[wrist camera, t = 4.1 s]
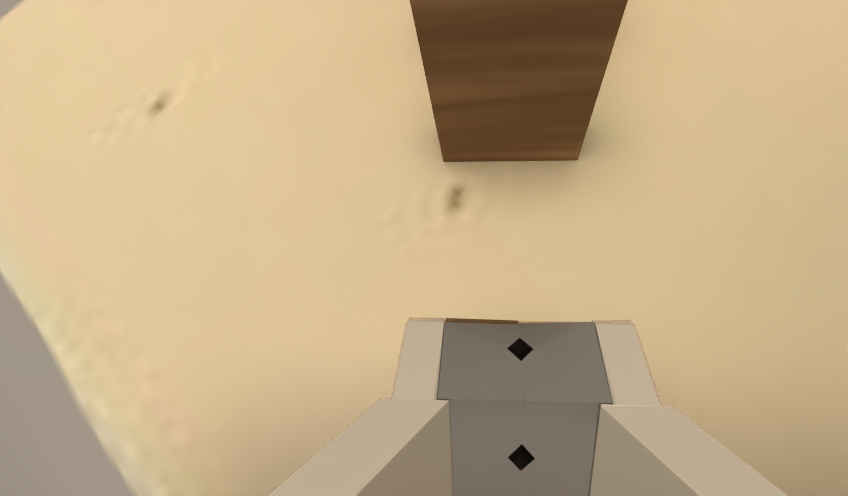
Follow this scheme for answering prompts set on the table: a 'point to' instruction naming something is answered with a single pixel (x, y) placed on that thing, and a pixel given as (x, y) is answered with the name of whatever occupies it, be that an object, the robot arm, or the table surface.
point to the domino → (514, 74)
